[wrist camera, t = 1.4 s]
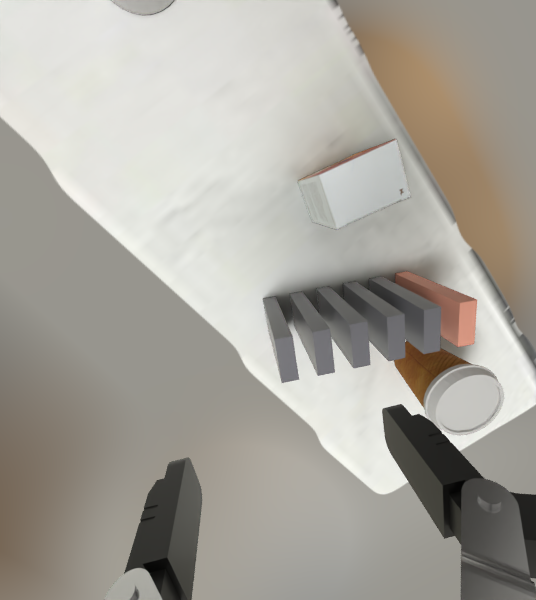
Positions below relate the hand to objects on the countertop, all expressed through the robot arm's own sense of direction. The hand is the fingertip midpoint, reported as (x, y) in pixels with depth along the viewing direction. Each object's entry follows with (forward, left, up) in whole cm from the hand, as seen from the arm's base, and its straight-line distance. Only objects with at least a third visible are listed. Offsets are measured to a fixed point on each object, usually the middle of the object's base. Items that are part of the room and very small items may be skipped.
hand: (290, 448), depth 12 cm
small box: (+9, +12, -30) cm, 34 cm away
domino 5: (+18, -1, -30) cm, 35 cm away
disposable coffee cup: (+26, -11, -30) cm, 41 cm away
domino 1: (+3, -5, -30) cm, 30 cm away
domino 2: (+7, -4, -30) cm, 31 cm away
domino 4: (+14, -2, -30) cm, 33 cm away
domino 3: (+11, -3, -30) cm, 32 cm away
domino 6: (+22, 0, -30) cm, 37 cm away
